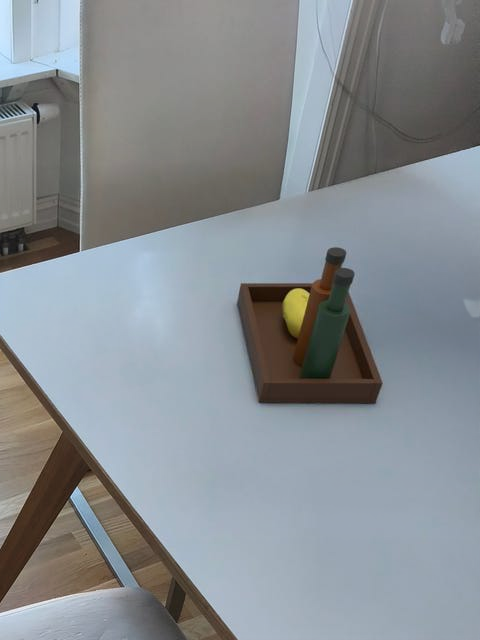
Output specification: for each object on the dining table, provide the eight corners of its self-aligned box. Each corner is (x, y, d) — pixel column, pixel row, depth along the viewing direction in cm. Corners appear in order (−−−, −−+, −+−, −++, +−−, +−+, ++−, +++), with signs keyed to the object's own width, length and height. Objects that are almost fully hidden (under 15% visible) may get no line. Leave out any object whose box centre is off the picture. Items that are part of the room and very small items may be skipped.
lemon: (279, 344, 103) (287, 313, 100) (278, 307, 108) (285, 277, 105) (316, 346, 102) (325, 316, 99) (313, 309, 107) (321, 279, 104)
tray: (339, 302, 109) (345, 282, 107) (375, 403, 96) (382, 383, 94) (237, 302, 110) (240, 283, 108) (258, 402, 97) (263, 382, 95)
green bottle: (325, 373, 99) (357, 264, 89) (330, 390, 97) (364, 280, 87) (296, 373, 99) (325, 264, 89) (301, 390, 97) (331, 280, 87)
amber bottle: (319, 352, 102) (349, 243, 92) (323, 368, 100) (356, 259, 90) (290, 352, 102) (318, 243, 92) (295, 368, 100) (324, 259, 90)
